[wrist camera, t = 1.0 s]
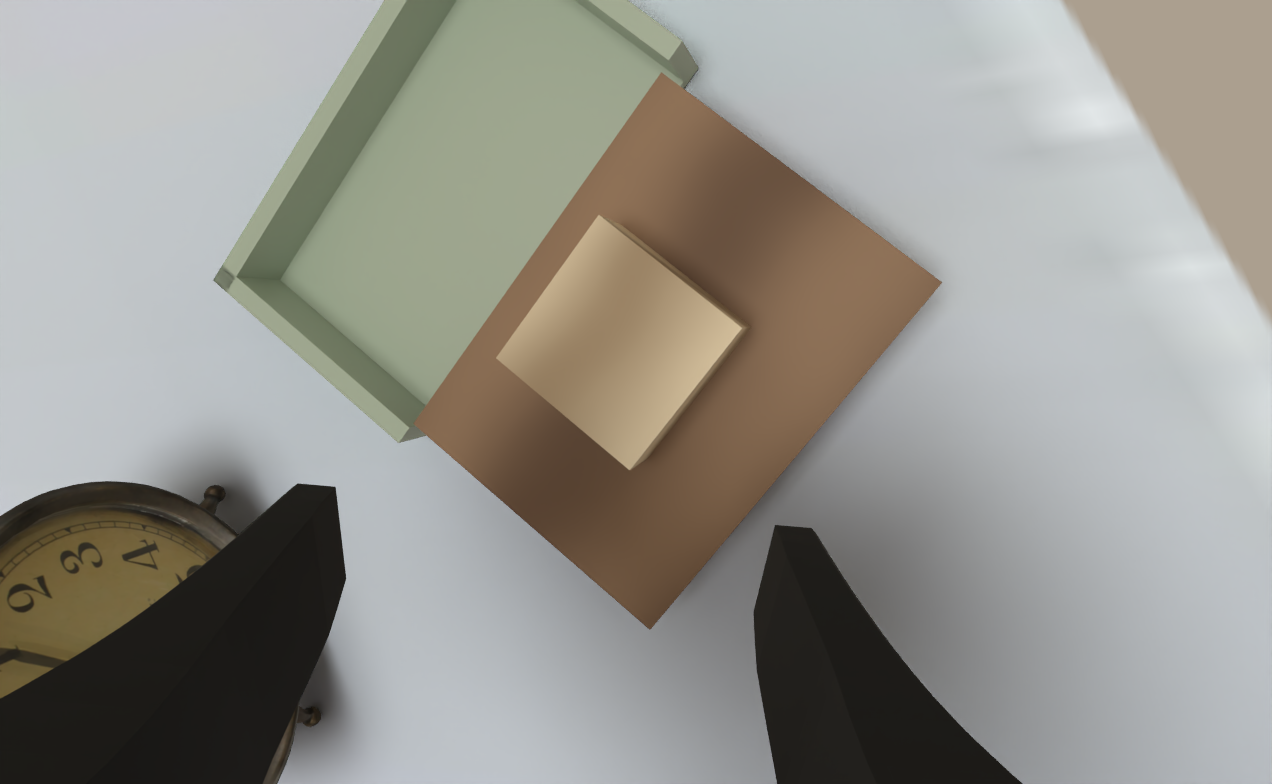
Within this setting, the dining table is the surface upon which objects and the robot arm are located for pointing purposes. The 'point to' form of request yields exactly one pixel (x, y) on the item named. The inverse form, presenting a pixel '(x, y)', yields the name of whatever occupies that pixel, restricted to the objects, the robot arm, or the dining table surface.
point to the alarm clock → (100, 573)
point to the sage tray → (437, 183)
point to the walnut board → (736, 394)
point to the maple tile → (621, 342)
